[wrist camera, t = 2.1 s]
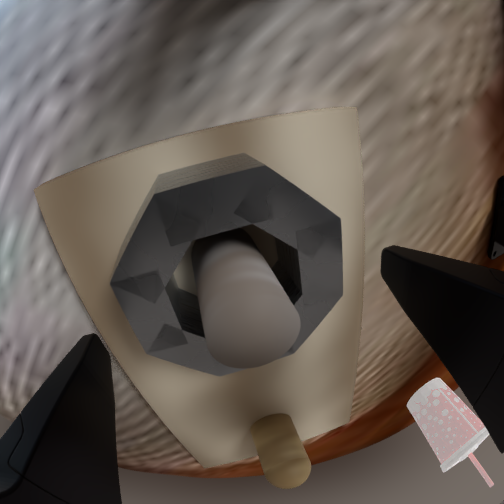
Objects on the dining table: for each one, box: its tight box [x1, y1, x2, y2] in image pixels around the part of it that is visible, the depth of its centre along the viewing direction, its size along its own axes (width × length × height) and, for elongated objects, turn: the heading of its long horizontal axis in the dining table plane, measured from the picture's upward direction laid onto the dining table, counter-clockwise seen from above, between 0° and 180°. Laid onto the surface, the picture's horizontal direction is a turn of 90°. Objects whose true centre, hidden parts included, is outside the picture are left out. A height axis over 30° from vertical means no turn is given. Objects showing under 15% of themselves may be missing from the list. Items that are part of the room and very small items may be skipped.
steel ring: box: [109, 153, 343, 377], centre depth 10 cm, size 7×7×2 cm
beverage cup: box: [407, 378, 494, 487], centre depth 19 cm, size 6×6×14 cm
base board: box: [34, 107, 365, 489], centre depth 13 cm, size 12×22×6 cm, turn 11°
